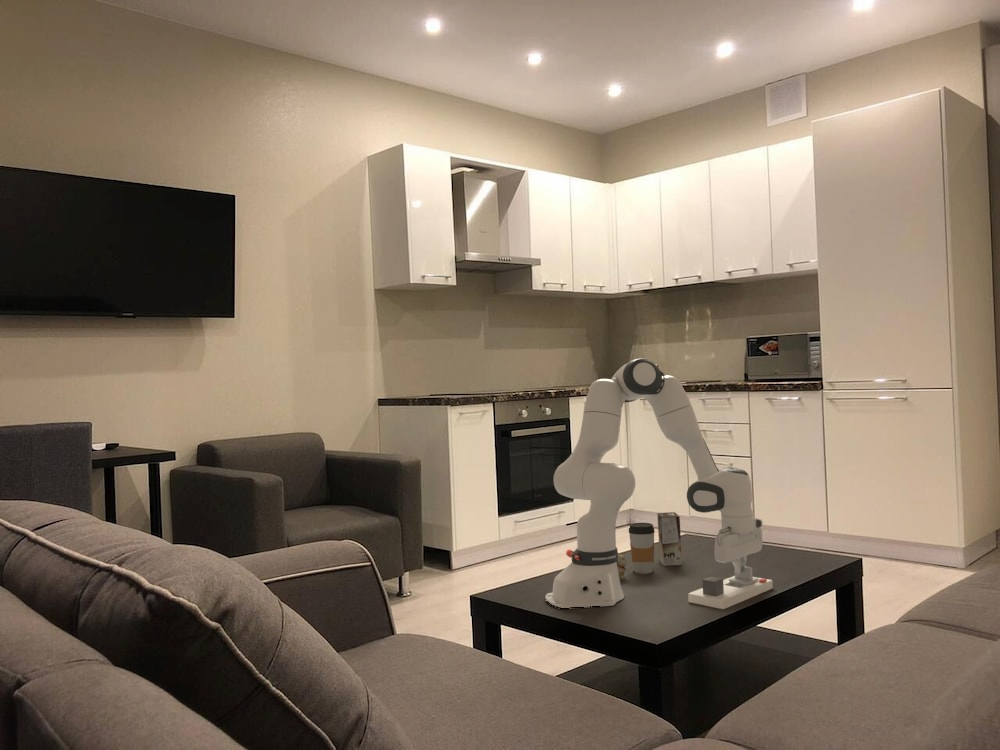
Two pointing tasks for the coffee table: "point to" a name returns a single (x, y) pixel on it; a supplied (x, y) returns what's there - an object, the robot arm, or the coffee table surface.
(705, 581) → the dark grey cube
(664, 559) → the coffee box
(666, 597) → the coffee table surface
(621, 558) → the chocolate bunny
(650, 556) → the coffee cup
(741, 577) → the grey lid with handle
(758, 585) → the socket plate
